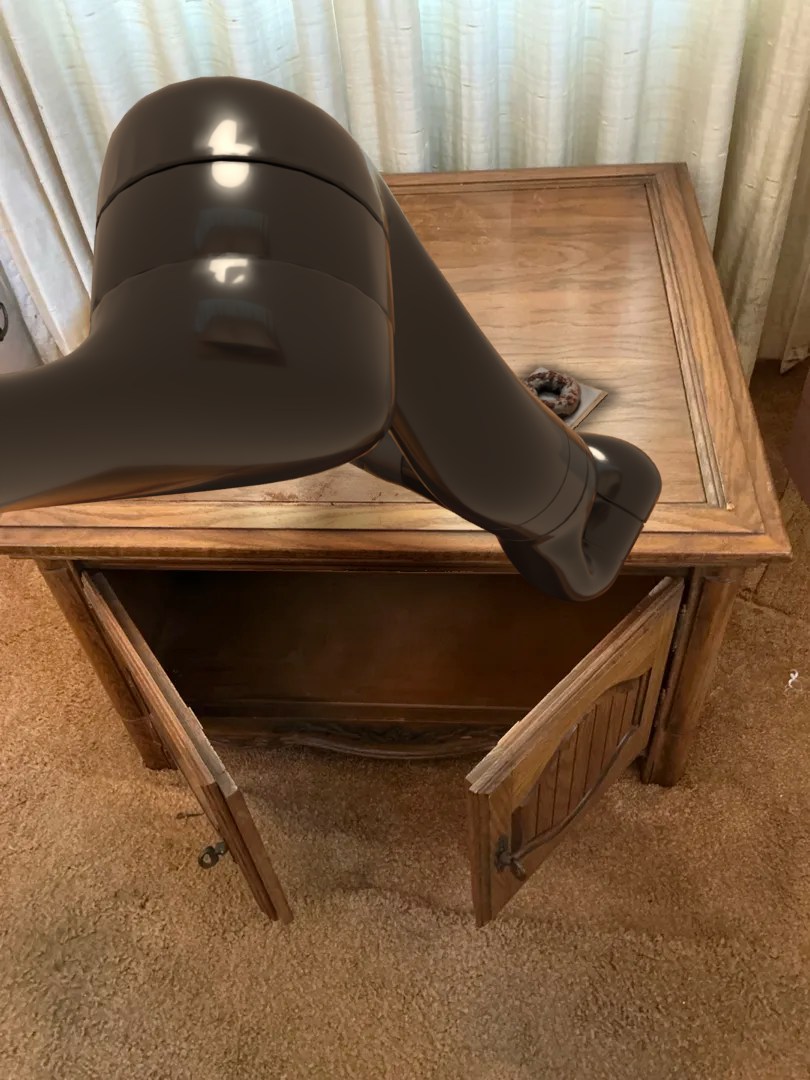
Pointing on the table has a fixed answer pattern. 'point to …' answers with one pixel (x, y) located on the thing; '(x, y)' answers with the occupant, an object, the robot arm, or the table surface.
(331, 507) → the table surface
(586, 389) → the donut
